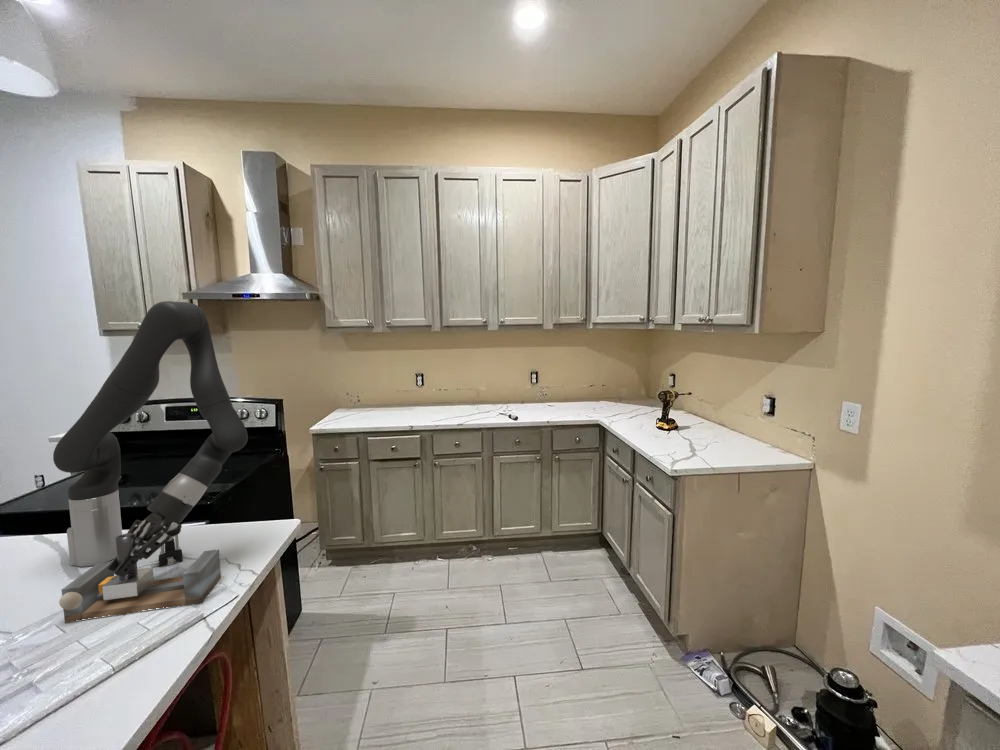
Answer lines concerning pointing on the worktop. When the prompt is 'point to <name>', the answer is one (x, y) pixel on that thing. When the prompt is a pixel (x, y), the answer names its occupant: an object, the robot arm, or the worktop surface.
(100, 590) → the orange block
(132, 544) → the carriage
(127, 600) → the rail base
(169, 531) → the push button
